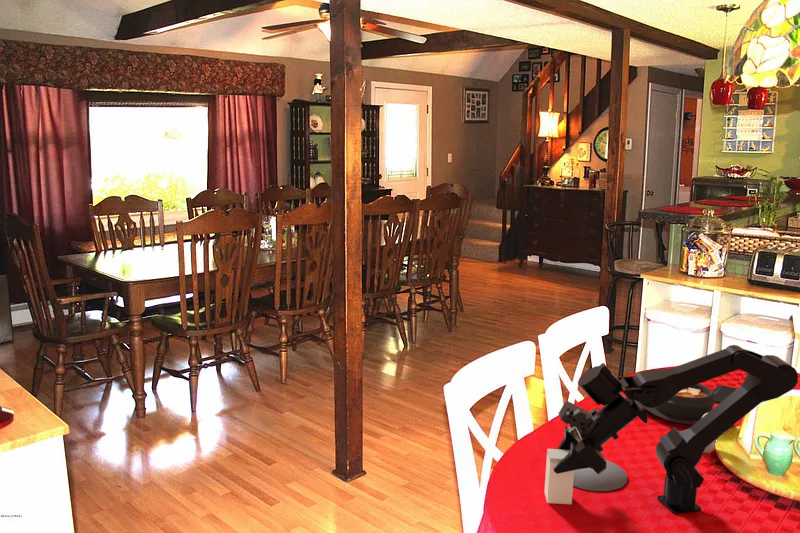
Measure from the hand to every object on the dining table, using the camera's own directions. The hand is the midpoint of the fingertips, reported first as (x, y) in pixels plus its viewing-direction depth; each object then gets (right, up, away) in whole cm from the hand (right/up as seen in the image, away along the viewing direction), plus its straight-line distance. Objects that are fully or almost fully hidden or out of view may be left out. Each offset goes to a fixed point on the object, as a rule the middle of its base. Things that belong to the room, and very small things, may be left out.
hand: (553, 466), depth 149 cm
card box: (+1, -7, +1) cm, 7 cm away
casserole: (+45, 0, +47) cm, 65 cm away
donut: (+43, -4, +26) cm, 50 cm away
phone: (+65, +3, +64) cm, 91 cm away
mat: (+11, -5, +12) cm, 17 cm away
